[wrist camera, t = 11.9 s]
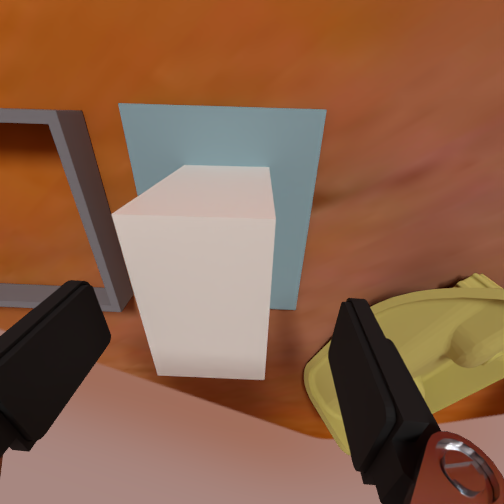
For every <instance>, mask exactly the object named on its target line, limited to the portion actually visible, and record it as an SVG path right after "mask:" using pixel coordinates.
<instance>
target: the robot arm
mask: <svg viewBox="0 0 504 504" xmlns="http://www.w3.org/2000/svg"><path fill="white" fill-rule="evenodd" d="M110 340H111V334H110V331H109V328H108V326H107V323H106V320H105V318H104V315H103V312H102V310H101V307H100V304H99V302H98V299H97V296H96V294H95V291H94V288H93V287H92V286H90V284H89V283H88V282H86V281H73V280H71V281H67V282H66V283H64V284H63V285H62V286H61V287H60V288H58V289H57V290H56V291H55V292H53V293H52V294H51V295H50V296H49V297H47V298H46V299H45V300H44V301H43V302H41V303H40V304H39V305H38V306H36V307H35V308H34V309H33V310H32V311H30V312H29V313H28V314H27V315H25V316H24V317H23V318H22V319H21V320H19V321H18V322H17V323H16V324H14V325H13V326H12V327H11V328H10V329H8V330H7V331H6V332H5V333H4V334H2V335H1V336H0V475H1V466H2V458H3V454H4V453H5V451H6V450H7V449H8V447H10V448H11V449H12V450H20V451H30V450H31V448H32V447H33V445H34V444H35V442H36V441H37V440H39V439H41V438H42V437H43V436H44V435H45V434H46V433H47V431H48V430H49V428H50V427H51V425H52V424H53V423H54V421H55V420H56V418H57V417H58V415H59V414H60V413H61V411H62V410H63V408H64V407H65V405H66V404H67V403H68V401H69V400H70V398H71V397H72V396H73V394H74V393H75V391H76V390H77V388H78V387H79V386H80V384H81V383H82V381H83V380H84V378H85V377H86V376H87V374H88V373H89V371H90V370H91V368H92V367H93V366H94V364H95V363H96V362H97V360H98V359H99V357H100V356H101V354H102V353H103V352H104V350H105V349H106V347H107V346H108V344H109V343H110ZM328 360H329V364H330V369H331V373H332V377H333V381H334V386H335V390H336V394H337V398H338V403H339V407H340V411H341V415H342V420H343V424H344V428H345V432H346V437H347V441H348V445H349V449H350V454H351V457H352V462H353V465H354V468H355V470H356V471H360V472H361V476H362V480H363V483H364V484H369V485H376V488H377V492H378V495H379V499H380V502H381V503H382V504H504V478H503V476H502V474H501V473H500V471H499V470H498V469H497V467H496V466H495V464H494V463H493V461H492V460H491V459H490V458H489V457H488V456H487V455H486V454H485V453H484V452H483V451H482V450H481V449H480V448H478V447H477V446H476V445H474V444H473V443H472V442H471V441H469V440H467V439H465V438H464V437H462V436H460V435H458V434H455V433H451V432H448V431H441V430H440V428H439V426H438V424H437V422H436V420H435V419H434V417H433V415H432V413H431V411H430V409H429V407H428V406H427V404H426V402H425V400H424V398H423V396H422V394H421V393H420V391H419V389H418V387H417V385H416V383H415V381H414V380H413V378H412V376H411V374H410V372H409V370H408V368H407V367H406V365H405V363H404V361H403V359H402V357H401V355H400V354H399V352H398V350H397V348H396V346H395V345H394V343H393V342H392V341H391V340H390V339H388V338H386V337H385V335H384V333H383V331H382V329H381V327H380V325H379V324H378V322H377V320H376V318H375V316H374V314H373V312H372V310H371V308H370V306H369V304H368V302H367V301H366V300H365V299H355V298H348V299H347V301H346V302H342V303H341V307H340V310H339V314H338V318H337V321H336V325H335V329H334V332H333V336H332V339H331V343H330V347H329V351H328Z"/></svg>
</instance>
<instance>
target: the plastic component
mask: <svg viewBox="0 0 504 504" xmlns="http://www.w3.org/2000/svg"><path fill="white" fill-rule="evenodd" d="M370 308H371V310H372V312H373V314H374V316H375V318H376V320H377V322H378V324H379V325H380V327H381V329H382V331H383V333H384V335H385V337H386V338H388V339H390V340H391V341H392V342H393V343H394V345H395V346H396V348H397V350H398V352H399V354H400V355H401V357H402V359H403V361H404V363H405V365H406V367H407V368H408V370H409V372H410V374H411V376H412V378H413V380H414V381H415V383H416V385H417V387H418V389H419V391H420V393H421V394H422V396H423V398H424V400H425V402H426V404H427V406H428V407H429V409H430V411H431V413H432V414H433V413H435V412H437V411H439V410H441V409H443V408H445V407H447V406H449V405H451V404H453V403H455V402H457V401H459V400H461V399H463V398H465V397H467V396H469V395H471V394H473V393H475V392H477V391H479V390H481V389H483V388H485V387H487V386H489V385H491V384H493V383H495V382H497V381H499V380H501V379H503V378H504V289H503V288H501V287H500V286H499V285H497V284H496V283H494V282H493V281H492V280H490V279H489V278H487V277H486V276H485V275H483V274H480V275H478V274H477V273H474V274H472V275H471V276H470V277H468V278H467V279H465V280H463V281H459V282H458V283H456V285H455V286H454V287H453V288H443V289H432V290H424V291H417V292H412V293H408V294H404V295H400V296H396V297H392V298H390V299H387V300H385V301H382V302H380V303H377V304H375V305H373V306H371V307H370ZM330 343H331V340H330V341H329V342H328V343H327V344H326V345H325V346H324V347H323V348H322V349H321V350H320V351H319V352H318V353H317V354H316V355H315V356H314V357H313V358H312V359H311V360H310V361H309V362H308V363H307V364H306V367H305V370H304V384H305V387H306V391H307V393H308V396H309V398H310V400H311V401H312V403H313V405H314V406H315V408H316V410H317V411H318V413H319V415H320V416H321V418H322V420H323V421H324V423H325V425H326V426H327V428H328V430H329V431H330V433H331V434H332V436H333V438H334V439H335V441H336V443H337V444H338V446H339V447H340V448H341V450H342V451H344V452H345V453H346V454H348V455H351V454H350V449H349V445H348V441H347V437H346V432H345V428H344V424H343V420H342V415H341V411H340V407H339V403H338V398H337V394H336V390H335V386H334V381H333V377H332V373H331V369H330V364H329V360H328V351H329V347H330Z"/></svg>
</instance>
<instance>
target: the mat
mask: <svg viewBox="0 0 504 504" xmlns="http://www.w3.org/2000/svg"><path fill="white" fill-rule="evenodd" d="M118 105H119V110H120V114H121V119H122V124H123V129H124V133H125V138H126V143H127V147H128V152H129V157H130V162H131V166H132V171H133V176H134V180H135V185H136V190H137V195H138V196H139V195H141V194H142V193H144V192H145V191H147V190H148V189H150V188H151V187H152V186H154V185H155V184H157V183H158V182H160V181H161V180H163V179H164V178H166V177H167V176H169V175H170V174H172V173H173V172H175V171H176V170H178V169H179V168H181V167H182V166H183V165H206V166H246V167H269V170H270V177H271V185H272V193H273V201H274V208H275V216H276V225H275V239H274V253H273V267H272V282H271V296H270V309H285V310H296V304H297V297H298V291H299V284H300V278H301V271H302V265H303V259H304V252H305V246H306V239H307V233H308V226H309V220H310V213H311V207H312V201H313V194H314V188H315V181H316V175H317V168H318V162H319V156H320V149H321V143H322V136H323V130H324V123H325V117H326V110H321V109H288V108H255V107H222V106H189V105H157V104H124V103H118Z"/></svg>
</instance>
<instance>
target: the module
mask: <svg viewBox="0 0 504 504" xmlns="http://www.w3.org/2000/svg"><path fill="white" fill-rule="evenodd" d="M111 215H112V218H113V222H114V225H115V228H116V232H117V235H118V239H119V242H120V246H121V249H122V253H123V256H124V260H125V263H126V267H127V270H128V274H129V277H130V281H131V284H132V288H133V291H134V294H135V298H136V301H137V305H138V308H139V312H140V315H141V319H142V322H143V326H144V329H145V333H146V336H147V340H148V343H149V347H150V350H151V354H152V357H153V360H154V364H155V367H156V371H157V374H158V375H160V376H183V377H205V378H228V379H250V380H265V366H266V352H267V338H268V324H269V310H270V296H271V282H272V267H273V253H274V239H275V225H276V216H275V208H274V201H273V193H272V185H271V177H270V170H269V167H246V166H206V165H183V166H182V167H181V168H179V169H178V170H176V171H175V172H173V173H172V174H170V175H169V176H167V177H166V178H164V179H163V180H161V181H160V182H158V183H157V184H155V185H154V186H152V187H151V188H150V189H148V190H147V191H145V192H144V193H142V194H141V195H139V196H138V197H136V198H135V199H133V200H132V201H130V202H129V203H127V204H126V205H124V206H123V207H121V208H120V209H118V210H117V211H116V212H114V213H113V214H111Z"/></svg>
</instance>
